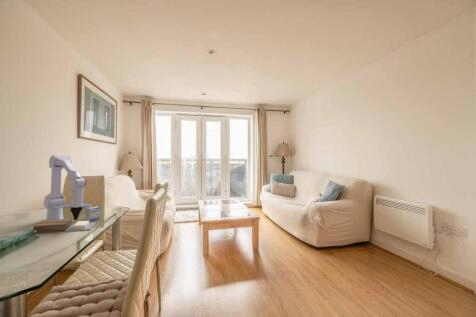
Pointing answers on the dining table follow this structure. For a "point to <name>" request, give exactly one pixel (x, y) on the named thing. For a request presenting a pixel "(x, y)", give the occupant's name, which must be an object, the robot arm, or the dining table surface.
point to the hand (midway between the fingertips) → (75, 219)
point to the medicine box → (92, 213)
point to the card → (81, 224)
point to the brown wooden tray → (53, 225)
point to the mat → (82, 228)
